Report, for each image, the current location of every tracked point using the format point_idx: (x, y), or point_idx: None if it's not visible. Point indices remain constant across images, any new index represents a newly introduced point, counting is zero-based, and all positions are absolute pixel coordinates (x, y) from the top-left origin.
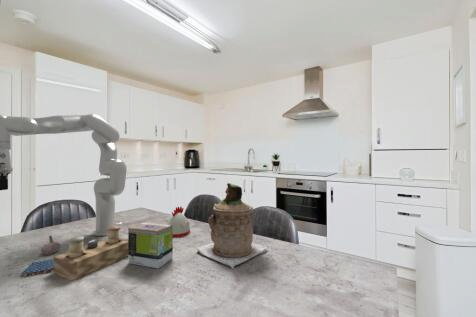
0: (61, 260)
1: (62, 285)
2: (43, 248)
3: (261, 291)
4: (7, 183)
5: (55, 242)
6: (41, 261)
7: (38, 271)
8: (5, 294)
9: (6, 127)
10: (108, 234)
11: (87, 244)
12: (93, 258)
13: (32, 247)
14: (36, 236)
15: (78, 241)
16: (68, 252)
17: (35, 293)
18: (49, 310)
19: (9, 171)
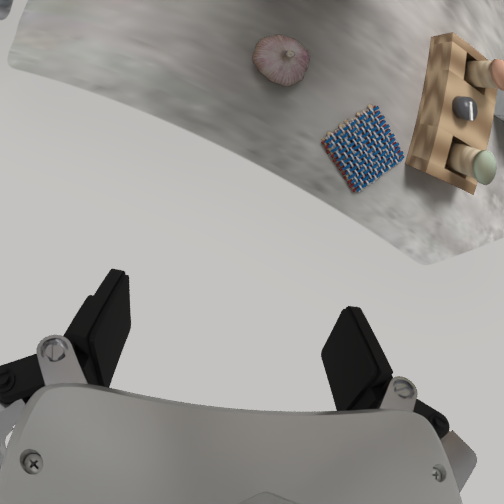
0: (448, 182)
1: (448, 199)
2: (284, 81)
3: None
4: (376, 344)
5: (300, 53)
6: (345, 134)
7: (381, 173)
8: (387, 240)
9: None
10: (490, 86)
11: (462, 117)
12: None
13: (168, 52)
14: (77, 10)
15: (492, 175)
16: (436, 144)
17: (428, 226)
18: (465, 249)
19: (429, 438)
